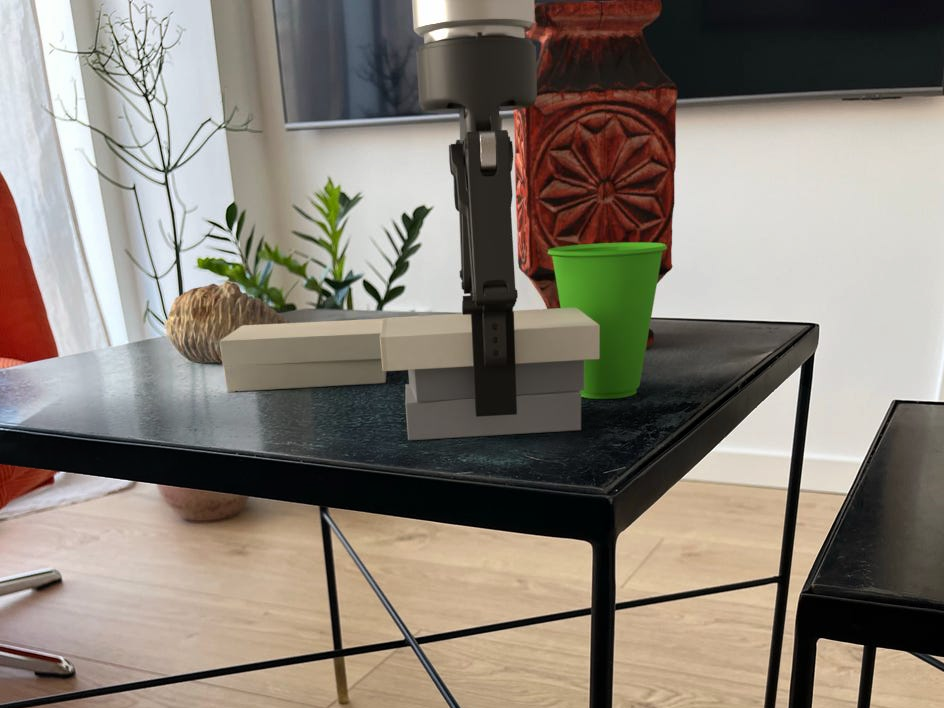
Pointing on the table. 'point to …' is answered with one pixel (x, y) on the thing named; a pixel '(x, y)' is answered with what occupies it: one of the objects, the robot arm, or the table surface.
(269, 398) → the table surface
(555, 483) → the table surface
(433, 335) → the white book
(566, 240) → the vase
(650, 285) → the cup
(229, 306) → the seashell
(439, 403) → the grey books
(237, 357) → the white pile
